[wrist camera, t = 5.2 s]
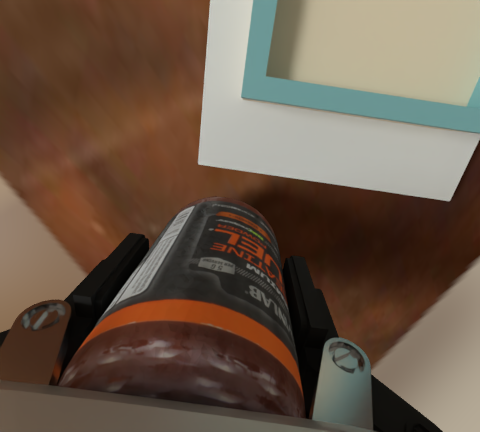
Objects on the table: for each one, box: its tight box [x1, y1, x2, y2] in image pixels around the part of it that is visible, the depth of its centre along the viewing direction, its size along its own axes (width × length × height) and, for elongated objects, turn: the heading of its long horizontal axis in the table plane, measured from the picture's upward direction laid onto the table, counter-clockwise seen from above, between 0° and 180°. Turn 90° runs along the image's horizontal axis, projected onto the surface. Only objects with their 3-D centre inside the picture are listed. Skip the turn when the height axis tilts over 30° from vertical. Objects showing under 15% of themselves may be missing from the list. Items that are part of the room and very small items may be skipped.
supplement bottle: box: [57, 196, 306, 419], centre depth 9 cm, size 6×6×11 cm
